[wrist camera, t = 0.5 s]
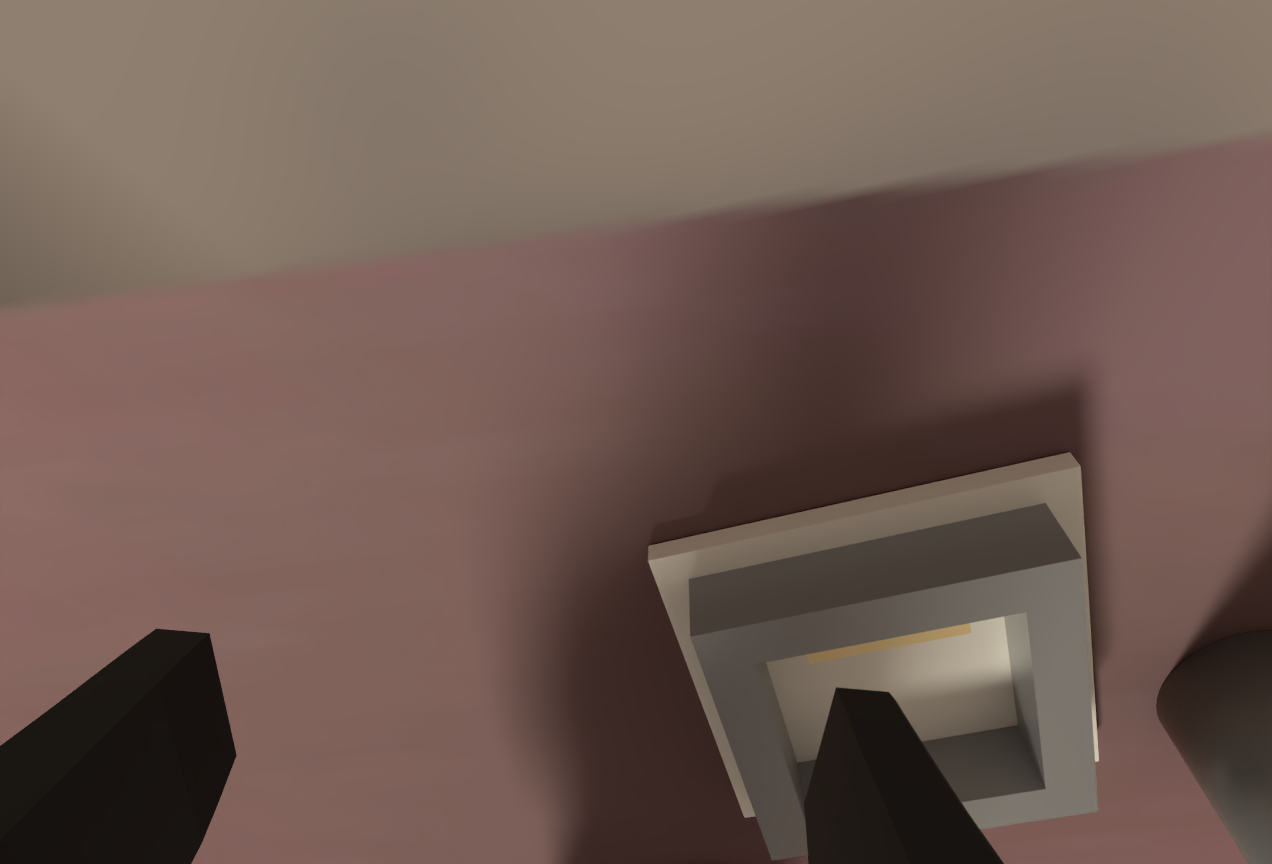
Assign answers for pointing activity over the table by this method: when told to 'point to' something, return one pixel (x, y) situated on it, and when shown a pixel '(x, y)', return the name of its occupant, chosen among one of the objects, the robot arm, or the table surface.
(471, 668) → the table surface
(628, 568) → the table surface
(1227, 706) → the knob
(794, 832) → the hub plate
